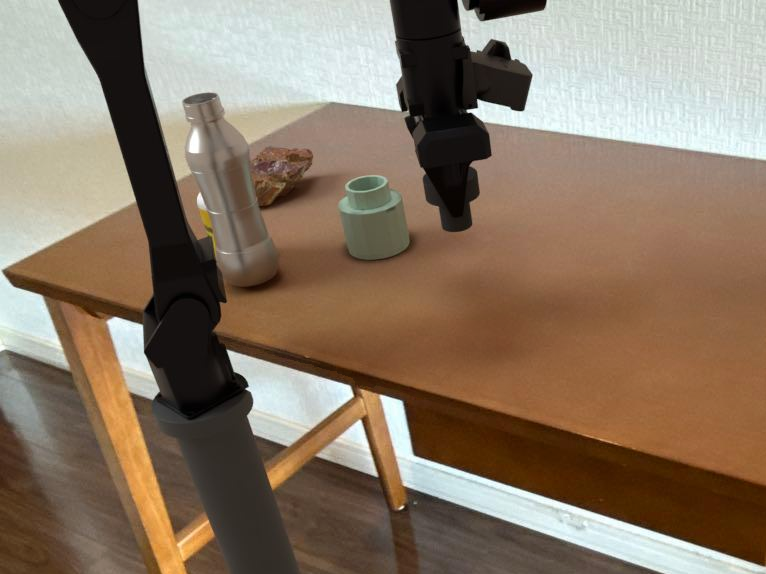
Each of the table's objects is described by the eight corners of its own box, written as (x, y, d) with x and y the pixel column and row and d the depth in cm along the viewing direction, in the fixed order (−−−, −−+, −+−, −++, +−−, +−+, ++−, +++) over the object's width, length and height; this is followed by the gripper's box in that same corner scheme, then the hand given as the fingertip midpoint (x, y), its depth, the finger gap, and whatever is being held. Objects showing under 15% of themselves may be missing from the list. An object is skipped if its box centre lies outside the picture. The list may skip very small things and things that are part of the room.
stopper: (455, 242, 96) (447, 190, 93) (419, 229, 99) (411, 178, 96) (494, 222, 99) (488, 171, 96) (458, 210, 102) (451, 160, 99)
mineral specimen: (261, 161, 140) (273, 118, 135) (310, 192, 140) (323, 150, 136) (214, 196, 131) (224, 152, 127) (266, 228, 132) (278, 186, 127)
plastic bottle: (221, 276, 117) (163, 96, 104) (279, 261, 119) (228, 83, 106) (228, 299, 113) (169, 114, 100) (288, 284, 114) (237, 100, 101)
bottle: (375, 265, 116) (361, 201, 111) (336, 250, 120) (321, 188, 115) (422, 241, 119) (411, 178, 115) (382, 227, 123) (370, 166, 119)
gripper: (541, 45, 81) (556, 230, 92) (500, -8, 95) (517, 158, 106) (404, 66, 80) (434, 251, 91) (382, 10, 94) (411, 176, 105)
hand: (453, 205), depth 98 cm, fingers closed on stopper, 5 cm apart
